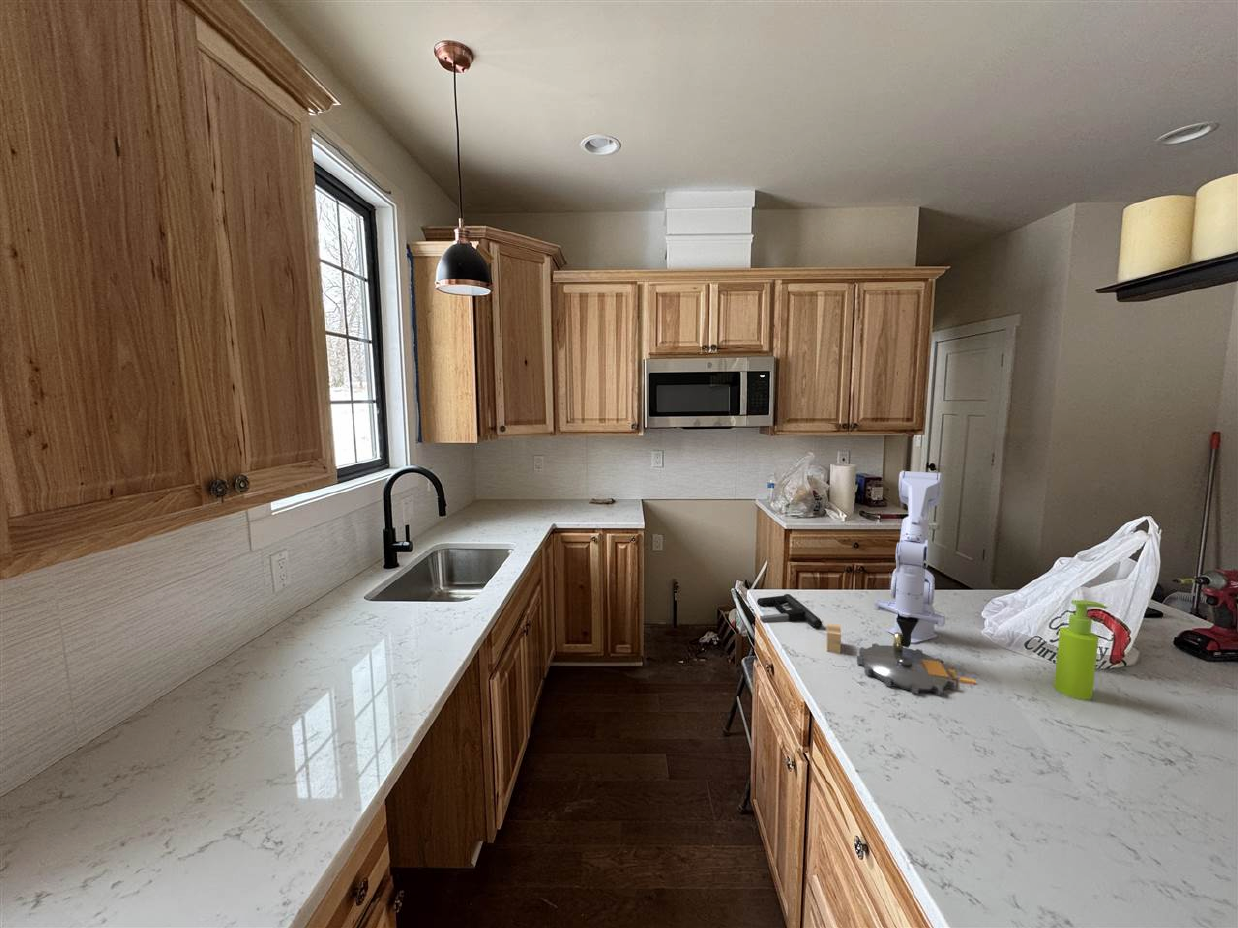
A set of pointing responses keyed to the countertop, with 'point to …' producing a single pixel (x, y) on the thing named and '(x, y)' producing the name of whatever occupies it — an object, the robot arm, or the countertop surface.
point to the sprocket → (906, 667)
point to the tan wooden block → (833, 638)
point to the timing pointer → (966, 680)
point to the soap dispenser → (1077, 654)
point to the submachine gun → (788, 611)
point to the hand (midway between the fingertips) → (906, 645)
